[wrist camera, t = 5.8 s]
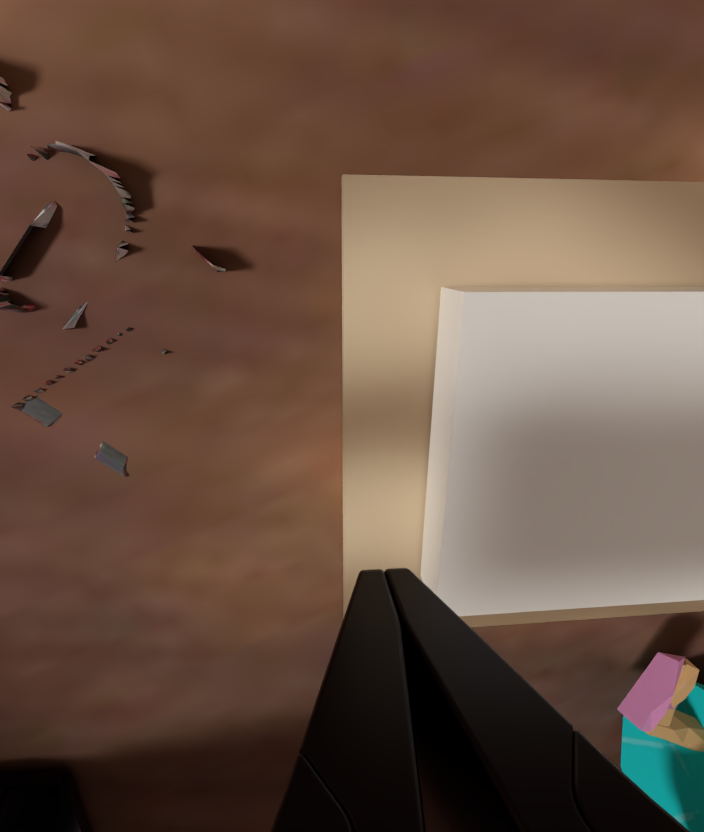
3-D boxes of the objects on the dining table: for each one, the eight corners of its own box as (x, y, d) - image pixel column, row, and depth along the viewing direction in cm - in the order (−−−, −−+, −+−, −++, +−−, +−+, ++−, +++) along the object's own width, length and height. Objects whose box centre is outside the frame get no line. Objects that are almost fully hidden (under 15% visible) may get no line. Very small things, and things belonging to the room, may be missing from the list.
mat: (711, 601, 16) (721, 609, 16) (343, 626, 15) (344, 636, 15) (862, 188, 12) (881, 185, 11) (341, 177, 10) (342, 174, 10)
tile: (419, 572, 14) (675, 557, 15) (435, 617, 12) (724, 598, 13) (439, 286, 11) (760, 286, 12) (464, 292, 9) (840, 291, 10)
